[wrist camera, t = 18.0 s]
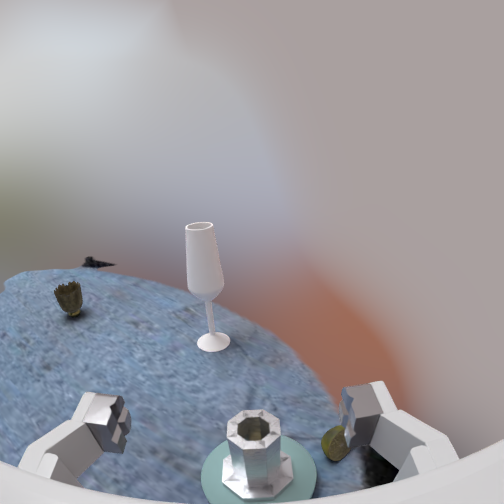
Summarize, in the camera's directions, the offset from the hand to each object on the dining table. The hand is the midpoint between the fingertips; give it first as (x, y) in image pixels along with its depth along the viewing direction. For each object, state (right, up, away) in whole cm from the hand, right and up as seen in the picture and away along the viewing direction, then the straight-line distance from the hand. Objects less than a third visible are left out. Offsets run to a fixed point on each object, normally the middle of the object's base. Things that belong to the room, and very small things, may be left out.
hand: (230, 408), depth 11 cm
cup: (-45, -11, +63) cm, 78 cm away
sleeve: (+1, -21, +22) cm, 30 cm away
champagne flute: (-7, -13, +53) cm, 55 cm away
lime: (+12, -22, +26) cm, 36 cm away
